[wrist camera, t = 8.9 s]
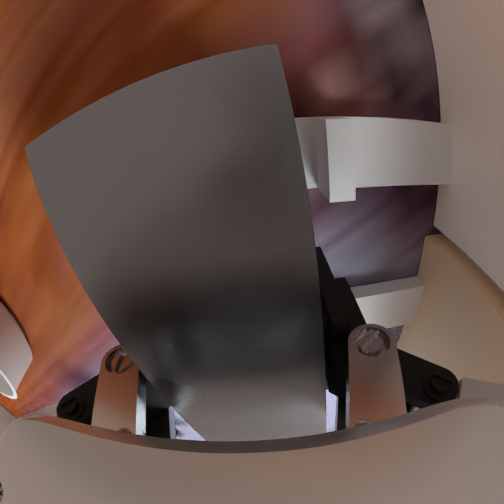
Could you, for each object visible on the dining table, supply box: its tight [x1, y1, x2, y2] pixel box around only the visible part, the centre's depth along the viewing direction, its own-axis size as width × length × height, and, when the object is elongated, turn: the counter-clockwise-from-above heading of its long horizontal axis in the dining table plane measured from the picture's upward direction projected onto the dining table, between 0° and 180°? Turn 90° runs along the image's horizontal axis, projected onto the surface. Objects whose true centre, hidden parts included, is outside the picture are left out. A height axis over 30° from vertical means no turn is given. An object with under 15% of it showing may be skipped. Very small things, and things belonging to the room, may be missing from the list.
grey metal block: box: [24, 43, 326, 441], centre depth 9 cm, size 4×14×6 cm, turn 13°
